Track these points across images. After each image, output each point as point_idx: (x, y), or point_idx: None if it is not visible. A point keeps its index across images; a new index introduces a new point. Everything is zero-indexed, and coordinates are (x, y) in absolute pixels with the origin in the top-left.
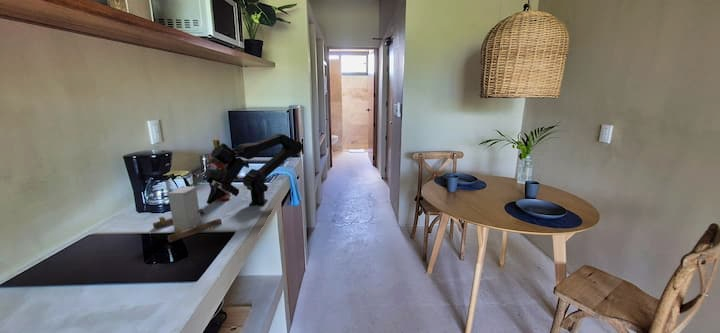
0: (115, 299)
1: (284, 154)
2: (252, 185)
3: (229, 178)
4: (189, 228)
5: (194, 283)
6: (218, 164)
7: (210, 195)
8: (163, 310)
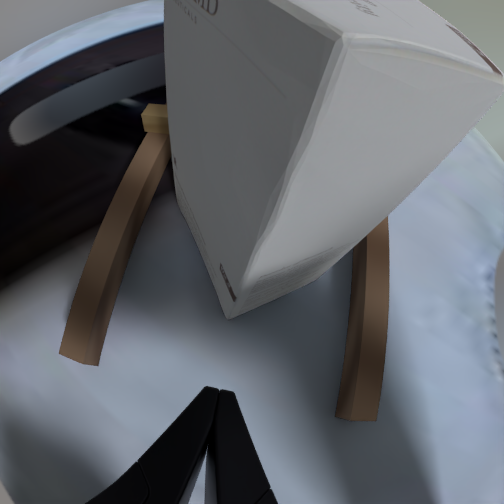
0: (94, 30)
1: None
2: None
3: None
4: (146, 174)
5: None
6: None
7: (214, 474)
8: (12, 62)
